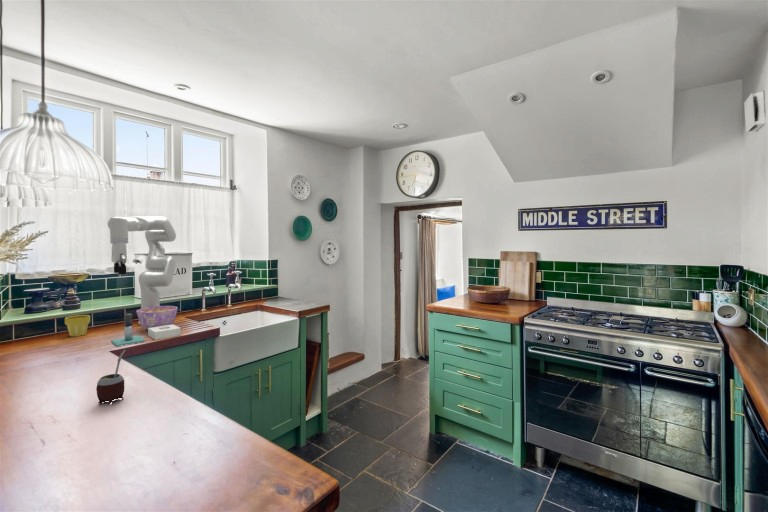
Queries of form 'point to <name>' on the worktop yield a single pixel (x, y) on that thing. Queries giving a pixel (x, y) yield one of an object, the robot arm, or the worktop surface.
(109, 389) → the mate gourd
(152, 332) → the eye block
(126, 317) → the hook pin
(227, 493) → the worktop surface
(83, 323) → the plant pot
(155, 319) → the bowl of food
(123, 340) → the mat
